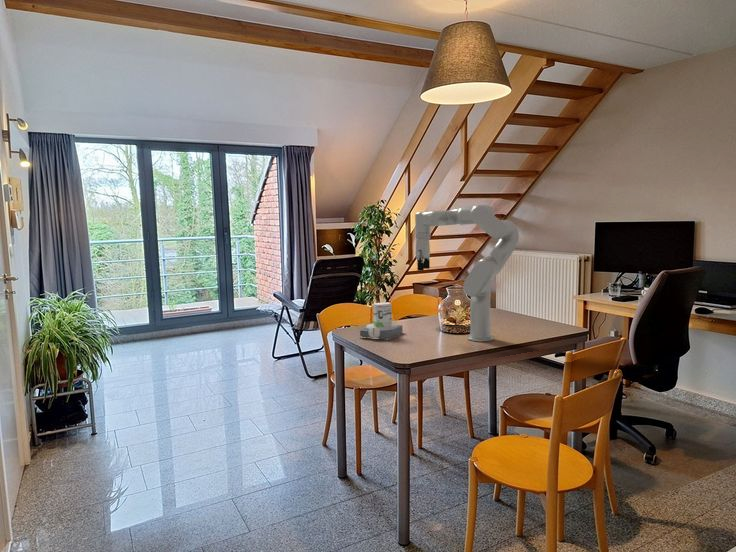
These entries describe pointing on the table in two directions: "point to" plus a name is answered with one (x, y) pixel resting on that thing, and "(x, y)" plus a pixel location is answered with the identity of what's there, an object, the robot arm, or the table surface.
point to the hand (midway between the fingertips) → (423, 269)
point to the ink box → (382, 314)
